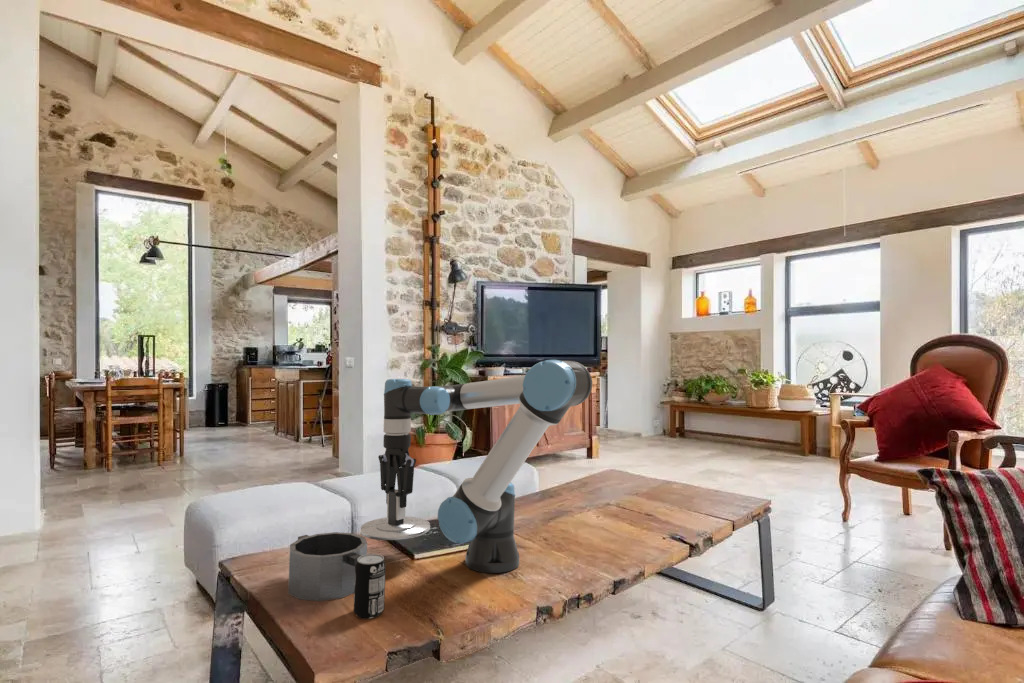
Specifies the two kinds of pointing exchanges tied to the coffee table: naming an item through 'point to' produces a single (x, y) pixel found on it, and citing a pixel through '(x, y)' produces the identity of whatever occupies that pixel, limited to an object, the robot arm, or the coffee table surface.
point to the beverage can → (369, 586)
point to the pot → (324, 565)
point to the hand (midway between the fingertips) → (396, 517)
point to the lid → (394, 525)
